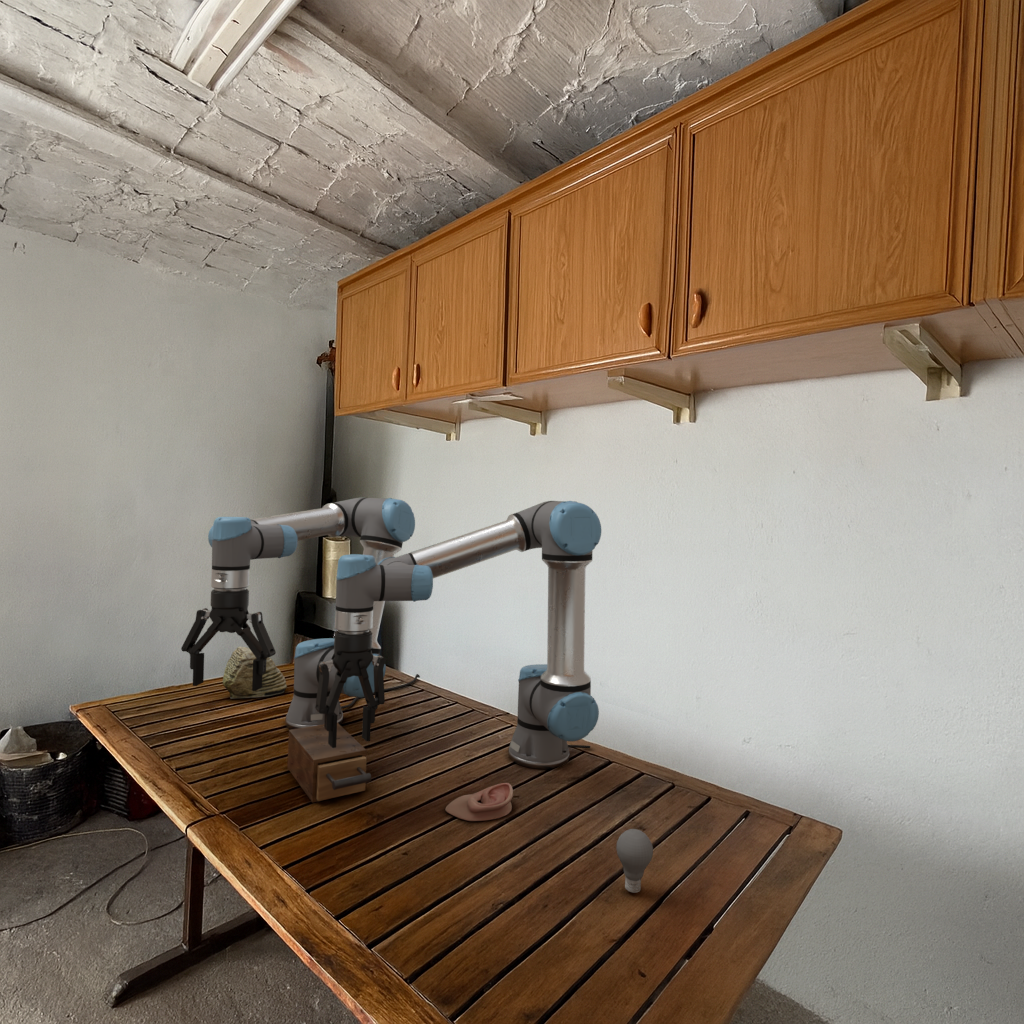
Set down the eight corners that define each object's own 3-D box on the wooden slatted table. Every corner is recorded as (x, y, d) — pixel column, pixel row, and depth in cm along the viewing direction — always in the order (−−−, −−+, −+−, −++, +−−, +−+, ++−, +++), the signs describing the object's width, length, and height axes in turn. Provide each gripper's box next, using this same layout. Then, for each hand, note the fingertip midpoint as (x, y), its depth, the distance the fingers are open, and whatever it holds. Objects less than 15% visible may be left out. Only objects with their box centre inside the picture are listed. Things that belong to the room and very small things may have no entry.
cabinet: (364, 790, 137) (366, 749, 137) (312, 802, 131) (313, 760, 131) (335, 758, 153) (336, 722, 153) (287, 768, 147) (288, 729, 147)
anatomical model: (441, 797, 127) (457, 773, 138) (440, 817, 127) (456, 791, 138) (505, 806, 124) (517, 781, 136) (504, 826, 124) (516, 800, 136)
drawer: (376, 802, 131) (377, 768, 130) (327, 814, 125) (328, 778, 125) (337, 759, 150) (338, 730, 150) (293, 768, 145) (295, 738, 144)
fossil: (218, 695, 195) (220, 647, 195) (278, 685, 208) (279, 640, 207) (228, 703, 189) (230, 653, 188) (289, 692, 201) (290, 645, 201)
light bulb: (610, 879, 108) (613, 822, 108) (644, 879, 109) (647, 822, 109) (619, 902, 102) (622, 840, 102) (655, 901, 103) (658, 840, 103)
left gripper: (164, 587, 134) (162, 687, 134) (276, 594, 131) (273, 696, 131) (187, 583, 141) (184, 677, 142) (293, 589, 138) (290, 685, 139)
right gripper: (311, 638, 121) (306, 757, 121) (405, 630, 132) (400, 740, 132) (300, 630, 127) (296, 744, 128) (390, 623, 138) (386, 728, 138)
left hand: (227, 686), depth 137 cm, fingers open, 13 cm apart
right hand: (349, 742), depth 130 cm, fingers open, 6 cm apart
